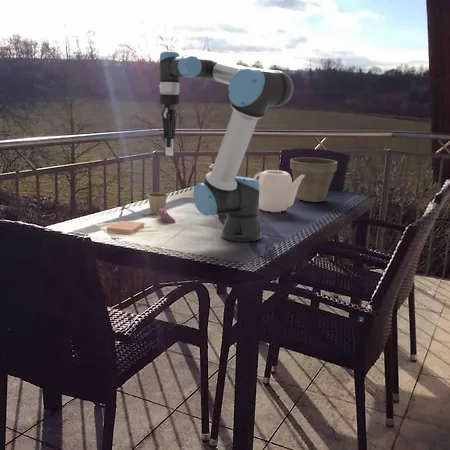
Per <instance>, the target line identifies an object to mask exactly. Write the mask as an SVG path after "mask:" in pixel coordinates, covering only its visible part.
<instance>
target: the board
mask: <svg viewBox="0 0 450 450" xmlns="http://www.w3.org/2000/svg"><path fill="white" fill-rule="evenodd" d="M117 222H118V221H115V222H104V223H95V224H94V225H95V226H96V227H97V228H99V229H100V230H101V231H103V232H104V233H106V234H107V235H108V236H111V237H110V238H111V239H112V240H113V241H114V240H115V241H116V239H118V240H120V238H127V237H135V236H145V235H153V234H162V232H161V231H160V230H158V229H156V228H154V227H152V226H151V225H149V224H147V223H146V222H144V221H142V220H138V219H137V220H128V222H138V223H144V227H143V228H141V229H140V230H138V231H136V232H135V233H133V234H124V233H115V232H107V227H109V226H111V225H113V224H115V223H117Z"/></svg>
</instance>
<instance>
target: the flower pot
mask: <svg viewBox="0 0 450 450" xmlns="http://www.w3.org/2000/svg"><path fill="white" fill-rule="evenodd" d="M146 196H147V199H148V203H149V204H148V205H149V212H150V214H151V215H154V216H158V215H157V214H158V210H159V209H166V203H167V199H168V196H169V194H168V193H164V192H149V193H147V194H146Z"/></svg>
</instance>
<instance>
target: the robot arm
mask: <svg viewBox="0 0 450 450" xmlns="http://www.w3.org/2000/svg"><path fill="white" fill-rule="evenodd" d="M181 78H183V79H184V78H186V79H189V78H190V79H203V80H211V81H214V82H219V83H221V84H225V85H227V86H228V89H227V90H228V92H229V93H228V98H229V101H230V107H231V109H232V113H231V115H230V119H229V122H228V124H227V126H226V127H227V128H226V129H225V133H224V136H223V138H222V141H221V144H220V147H219V149H218V152H217V156H216V158H215V162H214V165H213V167H212V170H211V171H209V172H208V173H206V175H205V178H204V180H203V182H199V183H198V184H196V185H195V187H194V188H193V191H192V193H193V194H192V198H193V201H194V206H195V207H196V209H197V210H198V212H199V213H200V214H202V215H203V216H217V215H222V214H227V216H226V218H225V219H226V220H225V222H224V225H223V227H222V230H221V237H222V238H223V239H225V240H227V241H230V242H231V241H232V242H239V243H251V242H250V241H253V242H256V240H258V241H260V240H261V239H262V230H261V226H260V221H259V207H260V206H259V192H260V190H259V179H257V178H256V179H253V178H251V177H245V176H238V173H239V170H240V168H241V165H242V162H243V160H244V157H245V154H246V152H247V149H248V147H249V144H250V141H251V139H252V136H253V133H254V131H255V129H256V125H257V124H258V121H259V120H260V119H263V118H264V117H265V115H266V113H267V110H268V108H278V107H281V106H284V105H285V104H287V103H288V102H289V101H290V99H291V98H292V96H293V92H294V82H293V80H292V78H291V77H290V76H289V75H288V74H287V73H286V72H284V71H281V70H277V69H268V68H266V69H265V68H258V67H255V66H254V67H246V66H243V65H239V64H233V63H231V62H226V61H225V60H223V59H218V58H207V57H197V56H195V55H189V54H187V55H183V56H181V55H180V53H179V52H178V51H162V52H161V53H160V54H159V84H158V88H159V93H160V95H159V104H160V105H163V106H164V107H163V110H162V112H161V118H162V126H163V127H162V128H163V129H162V130H163V139H164V140H165V156H166V157H167V156H169V157H172V156H174V139H175V140H176V126H177V115H178V114H177V112H176V108H175V105H176V106H177V105H178V106H179V105H180V95H179V93H180V79H181ZM259 239H260V240H259Z"/></svg>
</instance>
